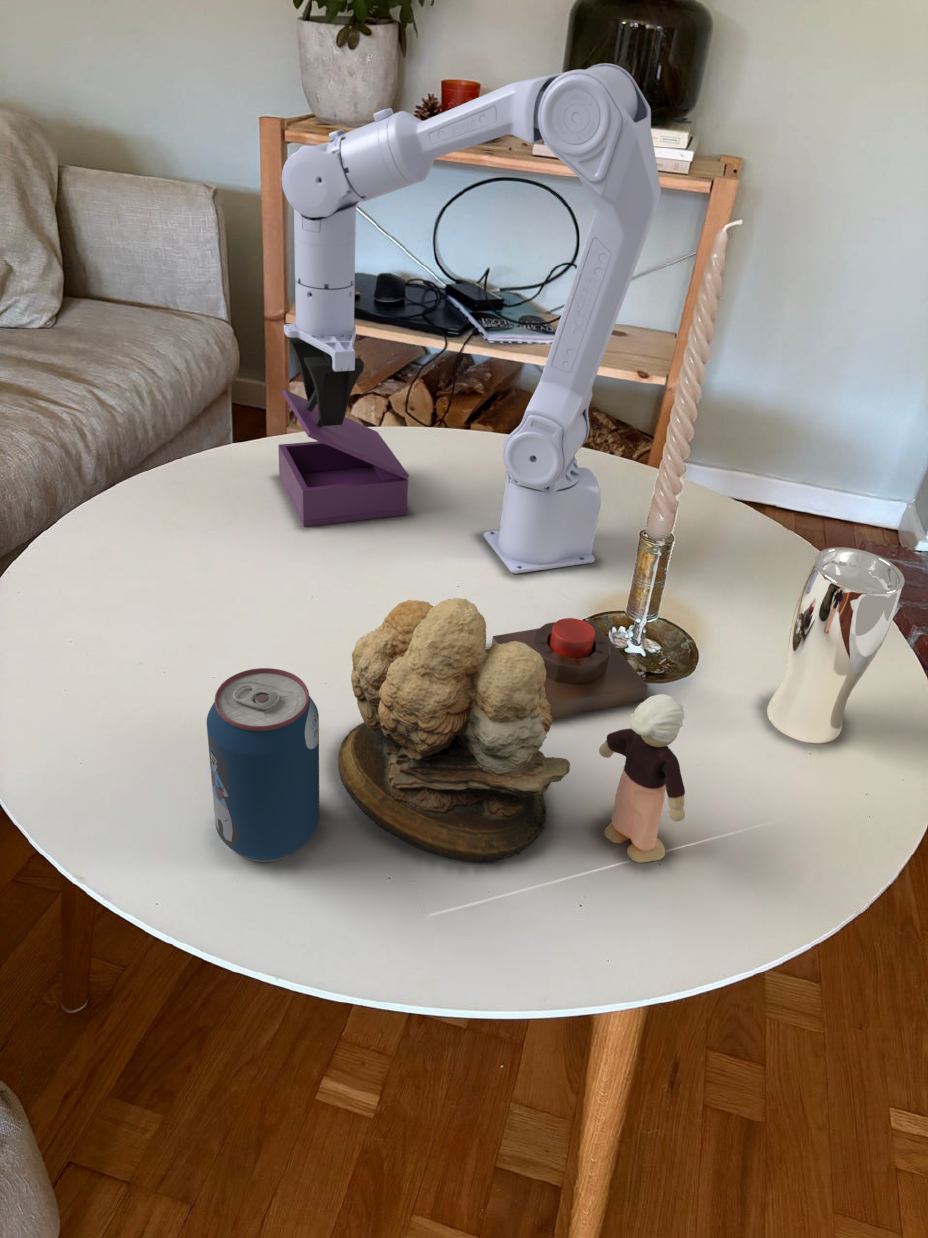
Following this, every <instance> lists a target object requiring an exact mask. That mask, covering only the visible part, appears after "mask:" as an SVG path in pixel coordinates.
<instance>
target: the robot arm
mask: <svg viewBox="0 0 928 1238" xmlns="http://www.w3.org/2000/svg"><path fill="white" fill-rule="evenodd" d="M651 109H652V108H651V106H650V105H649V102H648V101H647V99H646V98H645V96H644V95H643V92H642V90H641V89H640V87H639V86H638V83H637V82H636V81H635V79H634V78H633V76H632V75H631V74H630V72H628V70H626V69H624V67H621V66H619V65H617V64H613V63H605V62H604V63H598V64H593V65H591V66H589V67H588V68H586V69H580V68H579V69H573V70H568V71H566V72H565V71H564V72H559V73H554V74H548V75H544V76H543V75H542V76H539V77H538V76H537V77H533V78H528V79H525V80H524V79H522V80H519V81H515V82H511V83H509V84H507V85H504V86H502V87H500V88H497V89H495V90H492V91H491V92H488V93H486V94H483V95H481V96H479V97H476V98H474V99H471V100H469V101H467V102H464V103H462V104H460V105H457V106H455V107H452V108H451V109H449V110H445V111H443V112H441V113H439V114H437V115H434V116H432V117H430V118H427V119H425V120H422V119H420V118H418V117H416V116H414V115H413V114H411V113H409V112H408V111H405V110H400V111H397V112H395V113H394V111H393V108H391V107H389V108H384V109H382V110H379V111H377V112H374V113H373V114H372V115H373V119H374V121H373V122H370V123H368V124H367V123H366V124H365V125H363V126H360V127H358V128H357V127H356V128H354V129H353V130H350V131H347V132H345V130H344V129H337V130H334V131H332V132H329V134H328V139H329V141H328V142H322V143H320V144H316V145H315V144H314V145H303V146H300V147H299V149H298V150H297V151H295V152H293V153H292V154H290V156H289V157H288V158H287V159H286V161H285V163H284V164H283V167H282V171H281V187H282V190H283V194H284V196H285V198H286V200H287V202H288V203H289V205H290V206H291V207H292V208H293V239H294V240H293V242H294V243H293V244H294V246H293V247H294V289H295V290H294V292H295V293H294V294H295V297H294V298H295V299H294V300H295V321H294V323H287V324H284V325H283V333H284V334H285V336H286V337H287V339H288V341H289V343H290V345H291V346H292V349H293V351H294V354H295V357H296V359H297V362H298V365H299V368H300V374H301V378H302V383H303V389H304V392H305V397H306V399H307V400H308V401H309V400H310V398H311V396H312V394H313V392H314V390H315V391H316V397H317V404H318V411H319V416H320V420H321V423H322V425H323V426H333V425H342V424H343V421H344V417H346V414H347V410H348V406H349V402H350V398H351V394H352V392H353V389H354V387H355V385H356V383H357V381H358V379H359V378H360V377H361V375H362V373H363V372H364V368H365V362H364V361H363V360H362V358H361V357H356V350H355V349H354V345H355V342H356V336H357V327H356V325H355V297H356V296H355V293H356V292H355V291H356V289H355V288H356V287H355V286H356V284H355V283H356V281H355V279H356V235H357V234H356V220H357V219H356V218H357V217H356V215H357V208H358V205H359V203H362V202H367V201H370V200H373V199H376V198H379V197H381V196H385V195H387V194H390V193H393V192H395V191H396V192H397V191H398V190H401V189H404V188H407V187H410V186H412V185H414V184H418V183H421V182H424V181H425V180H426V179H427V177H428V176H429V174H430V171H431V168H432V166H433V165H434V163H435V160H436V159H437V158H440V157H445V156H447V155H450V154H453V153H456V152H459V151H462V150H465V149H468V148H470V147H475V146H477V145H480V144H483V143H486V142H490V141H492V140H495V139H498V138H501V137H504V136H508V135H512V136H514V137H516V138H518V139H521V140H522V141H525V142H526V143H529V144H532V145H534V144H536V143H539V142H541V141H543V142H544V143H545V145H546V147H547V148H548V149H549V151H550V152H551V153H552V154H553V155H554V156H555V157H556V158H557V159H558V160H560V162H562V163H563V164H564V165H565V166H566V167H567V168H568V169H569V170H570V171H571V172H573V174H575V175H576V176H577V177H578V179H579V181H580V182H581V184H582V186H583V188H584V190H585V191H586V194H587V195H588V197H589V199H590V200H591V203H592V204H593V206H594V214H593V216H592V220H591V223H590V226H589V229H588V232H587V235H586V238H585V241H584V245H583V248H582V251H581V254H580V257H579V260H578V263H577V266H576V269H575V273H574V275H573V278H572V281H571V284H570V288H569V291H568V293H567V297H566V300H565V302H564V306H563V309H562V312H561V316H560V319H559V321H558V324H557V327H556V331H555V333H554V336H553V340H552V343H551V346H550V349H549V352H548V354H547V358H546V361H545V364H544V367H543V370H542V373H541V376H540V379H539V381H538V384H537V386H536V388H535V389H534V390H535V391H534V392H533V394H532V396H531V398H530V401H529V402H528V403H527V406H526V409H525V411H524V414H523V417H522V419H521V422H520V423H519V425H518V426H517V427H516V428H515V429H514V430H513V431H511V432H510V433H509V435H508V436H507V437H506V439H505V441H504V443H503V447H502V460H503V464H504V466H505V469H506V471H505V480H504V491H503V498H502V506H501V514H500V523H499V529H498V530H497V529H495V530H487V531H485V532H483V538H484V539H485V540H486V542H487V544H488V545H489V546H490V547H491V549H492V550H493V551H494V552H495V554H496V555H497V556H498V558H499V559H500V560H501V561H502V563H503V564H504V566H505V567H506V568H507V569H508V570H509V572H510V573H512V574H516V575H517V574H524V573H530V572H537V571H543V570H551V569H558V568H566V567H570V566H571V567H572V566H573V567H574V566H579V565H586V564H593V563H594V562H595V559H596V557H595V556H594V555H593V554H592V553H593V550H594V549H593V548H594V543H595V537H596V533H597V527H598V521H599V520H598V519H599V515H600V511H601V502H602V501H601V499H602V498H601V489H600V485H599V482H598V479H597V477H596V475H595V474H594V472H592V470H591V469H589V468H587V467H581V466H580V467H579V464H578V461H577V458H576V455H577V453H578V451H579V450H581V448H582V447H583V446H584V445H585V443H586V442H587V440H588V437H589V435H590V417H589V408H590V404H591V401H592V399H593V386H594V383H595V381H596V377H597V375H598V372H599V370H600V366H601V365H602V364H601V363H602V361H603V358H604V356H605V353H606V350H607V347H608V344H609V342H610V339H611V337H612V334H613V331H614V328H615V326H616V323H617V320H618V317H619V314H620V311H621V309H622V306H623V303H624V301H625V298H626V295H627V292H628V289H629V287H630V284H631V282H632V279H633V275H634V273H635V270H636V268H637V265H638V262H639V260H640V256H641V255H642V251H643V248H644V245H645V242H646V240H647V237H648V235H649V231H650V229H651V226H652V224H653V221H654V218H655V215H656V213H657V210H658V207H659V204H660V200H661V194H662V188H661V181H660V175H659V170H658V163H657V157H656V151H655V145H654V140H653V134H652V112H651V111H652V110H651Z"/></svg>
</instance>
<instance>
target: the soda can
mask: <svg viewBox="0 0 928 1238" xmlns="http://www.w3.org/2000/svg"><path fill="white" fill-rule="evenodd" d="M206 731H207V732H206V734H207V744H208V745H207V746H208V754H209V755H208V757H209V765H210V766H209V767H210V777H211V787H212V798H213V812H214V813H213V814H214V823H215V829H216V832H217V834H218V836H219V838H220V839H221V841H222V842H223V843H224V844H225V845H226V846H227V847H228V848H229V849H231V851H233V852H235V854H238V855H239V856H240V857H242V858H243V859H247V860H249V861H254V862H260V863H269V862H270V863H271V862H276V861H280V860H283V859H286V858H289V857H291V856H292V855H295V853H297V852H298V851H299V850H300V849H302V847H303V846H304V845H305V844H307V843H308V841H309V840H310V839H311V837H313V835H314V833H315V831H316V830H317V828H318V825H319V823H320V714H319V709H318V707H317V705H316V703H315V702H314V700H313V699H312V697H311V696H310V693H309V689H308V686H307V685H306V683H305V682H304V681H303V680H302V679H301V678H300V677H299V676H298V675H296V674H295V673H292V672H290V671H286V670H284V669H278V668H270V667H258V668H252V669H251V668H250V669H247V670H244V671H240V672H237V673H235V674H234V675H231V676H230V677H229V678H227V679H225V680H224V681H223V682H222V683H221V684H220V686H219V687H218V689H217V690H216V692H215V694H214V702H213V703H212V705H211V707H210V709H209V710H208V712H207V717H206Z"/></svg>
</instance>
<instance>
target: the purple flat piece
mask: <svg viewBox="0 0 928 1238" xmlns="http://www.w3.org/2000/svg"><path fill="white" fill-rule="evenodd" d="M282 396H283V397H284V398H285V400H286V402H287V404H288V405H289V407H290V409H291V411H292V412H293V414H294V416H295V417H296V419H297V421H298V422H299V424H300V425H301V427H302V429H303V431H304V433H305V434H306V436H307V437H308V438H309V439H312V440H315V441H319V442H321V443H324V444H326V445H328V446H331V447H333V448H335V449H338V450H340V451H342V452H345V453H347V454H349V455H352V456H354V457H356V458H359V459H361V460H363V461H365V462H368V463H370V464H372V465H375V466H377V467H379V468H382V469H384V470H386V471H389V472H391V473H393V474H396V475H398V476H400V477H403V478H405V479H408V480H409V478H410V474H409V473H408V472H407V471H406V469H405V468H404V466H403V465H402V463H401V462H400V461H399V459H398V458H397V457H396V455H395V454H394V452H393V451H392V449H390V447H389V446H388V444H387V443H386V442H385V440H384V439H383V437H382V436H381V434H380V433H379V432H378V431H376V430H375V429H373V428H370V427H368V426H366V425H363V424H362V423H359V422H357V421H355V420H353V419H350V418H348V417H346V416H345V417H344V421H343V424H342V425H333V426H323V425H322V423H321V420H320V416H319V411H318V404H317V397H316V391H315V390H314V392H313V394H312V396H311V398H310V400H309V401H308V400H307V398H304V397H302V396H300V395H298V394H297V393H294V392H292V391H289V390H287V389H283V391H282Z"/></svg>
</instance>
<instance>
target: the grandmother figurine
mask: <svg viewBox="0 0 928 1238" xmlns="http://www.w3.org/2000/svg"><path fill="white" fill-rule="evenodd" d="M629 717H630V718H629V727H630V728H623V729H619V730H617V731H612V732H610V733H608V734H607V735H606V740H604V742H603V743H602V744H600V745H599V748H598V753H599V754H600V756H601V757H603V758H604V759H609V758H611V757H612V756H613V755H614V753H615V754H616V753H617V754H619V755H622V756H623V757H625V762H624V765H623V771H622V773H621V775H620V777H619V781H618V785H617V788H616V792H615V797H614V805H613V809H612V816H611V822H610V823H608V825H607V826H606V827H605V829H604V830H603V835H604V836H605V838H606V839H608V840H609V841H610V842H612V843H614V844H621V843H624V842H626V841H628V840H630V841H631V844H630V845H629V846H628V847H627V848H626V854H627V855H628V856H629V858H630V859H631V860H632V861H634V862H635V863H638V864H639V863H640V864H641V863H648V862H655V861H660V860H662V859H663V858H664V857H665V856H666V848H665V845H664V844H663V842H662V841H661V839H659V838H658V833H659V827H660V821H661V818H662V813H663V808H664V804H665V799H666V798H665V797H666V795H667V801H668V806H669V810H668V815H669V819H671V821H674V822H682V821H683V820H685V817H686V810H685V809H684V807H685V794H686V789H685V786H684V781H683V776H682V773H681V767H680V762H679V760H678V757H677V756H676V755H675V754H674V752H673V751H672V750H671V748H670V747H669V745H671V744H673V742H674V741H675V740H676V739H677V737H678V734H679V733H680V729H681V728H683V720H684V719H685V712H684V706H683V704H682V703H680V701H678V700H677V699H676V698H675V697H674V696H671V695H668V694H666V693H665V694H664V693H662V694H661V693H660V694H655V695H651V696H649V697H648V698H646V699H644V701H641V702H640V703H639V704H638V705H637V707H636V708H635V710H634V711H633V713H630V714H629Z"/></svg>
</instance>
